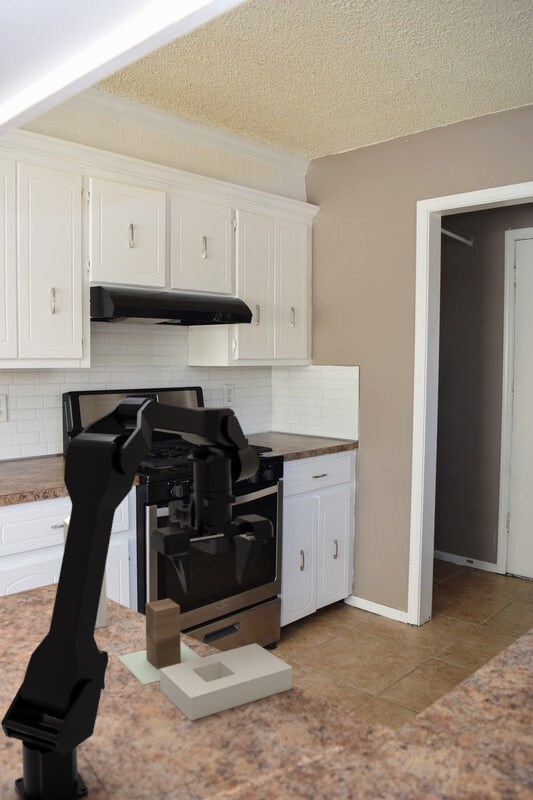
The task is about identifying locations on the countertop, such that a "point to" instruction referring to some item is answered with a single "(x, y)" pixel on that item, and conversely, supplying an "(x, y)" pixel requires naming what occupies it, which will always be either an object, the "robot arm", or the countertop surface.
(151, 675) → the mat
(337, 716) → the countertop surface
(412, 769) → the countertop surface
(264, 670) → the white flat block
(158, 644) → the plug
